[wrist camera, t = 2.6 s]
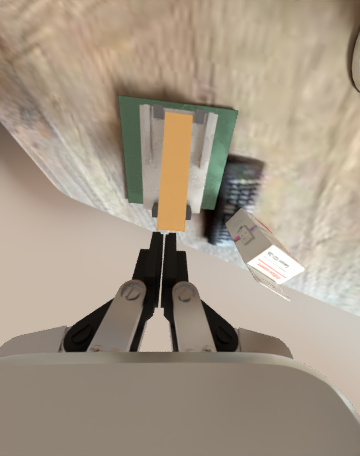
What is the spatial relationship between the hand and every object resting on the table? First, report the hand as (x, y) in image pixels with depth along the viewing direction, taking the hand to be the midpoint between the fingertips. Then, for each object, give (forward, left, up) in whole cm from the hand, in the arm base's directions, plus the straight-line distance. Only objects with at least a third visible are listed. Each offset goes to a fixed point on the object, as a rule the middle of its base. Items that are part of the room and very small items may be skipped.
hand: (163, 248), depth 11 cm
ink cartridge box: (+8, +16, -18) cm, 26 cm away
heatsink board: (-3, 0, -18) cm, 18 cm away
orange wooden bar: (-3, 0, -9) cm, 10 cm away
